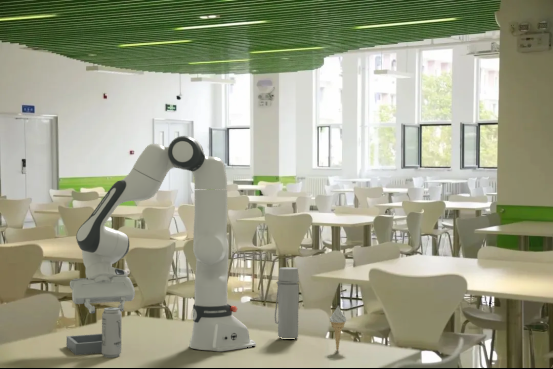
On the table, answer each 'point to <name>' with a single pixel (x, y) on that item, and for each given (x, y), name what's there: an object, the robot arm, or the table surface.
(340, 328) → the ice cream cone
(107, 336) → the energy drink can
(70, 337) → the gray tray
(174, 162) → the robot arm
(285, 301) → the water bottle
